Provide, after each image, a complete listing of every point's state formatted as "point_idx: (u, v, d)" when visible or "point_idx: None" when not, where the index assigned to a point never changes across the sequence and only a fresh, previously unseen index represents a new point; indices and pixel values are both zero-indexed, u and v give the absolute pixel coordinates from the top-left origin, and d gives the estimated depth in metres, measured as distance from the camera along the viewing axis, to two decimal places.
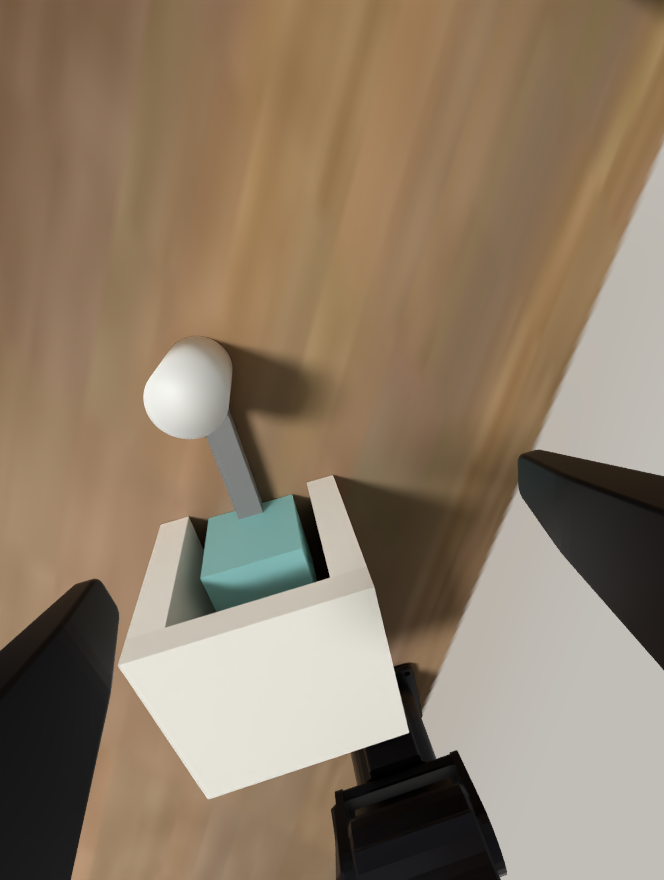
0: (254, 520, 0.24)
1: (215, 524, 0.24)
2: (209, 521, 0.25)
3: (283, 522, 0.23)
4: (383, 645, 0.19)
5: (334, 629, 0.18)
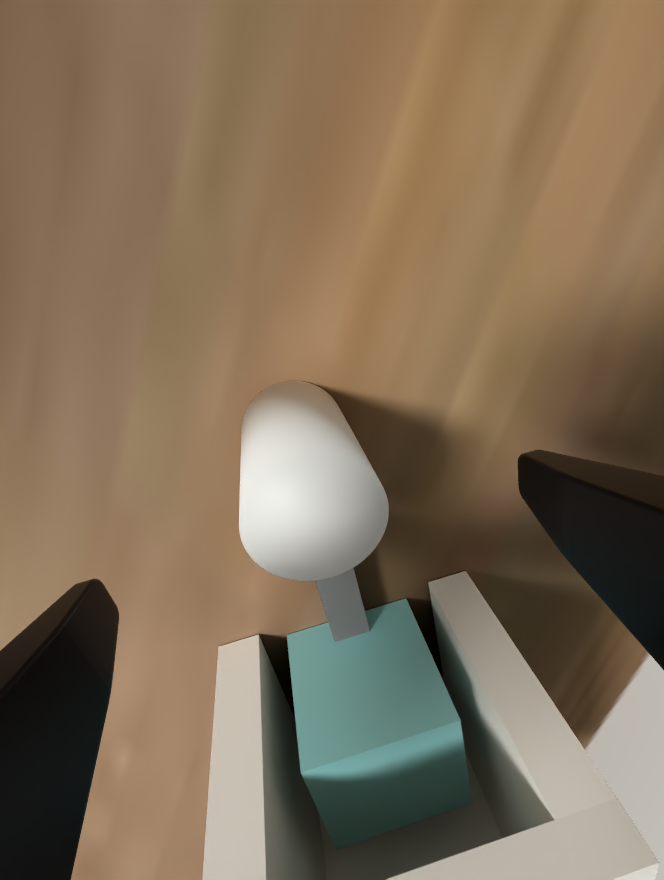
0: (360, 646, 0.16)
1: (300, 649, 0.17)
2: (289, 641, 0.17)
3: (410, 657, 0.15)
4: None
5: None
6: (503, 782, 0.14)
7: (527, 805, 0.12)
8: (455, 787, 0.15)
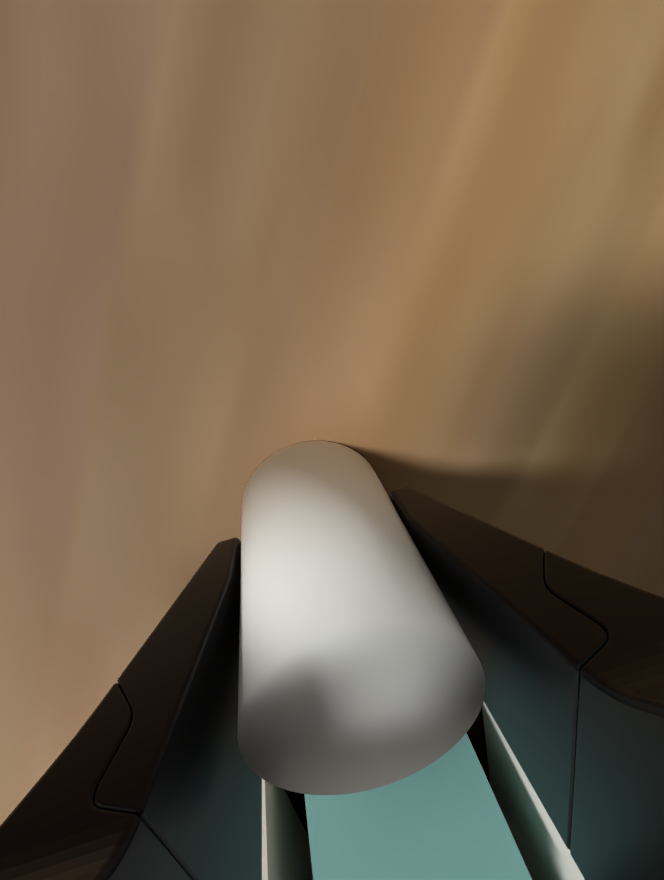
0: None
1: None
2: None
3: (465, 795, 0.12)
4: None
5: None
6: None
7: None
8: None
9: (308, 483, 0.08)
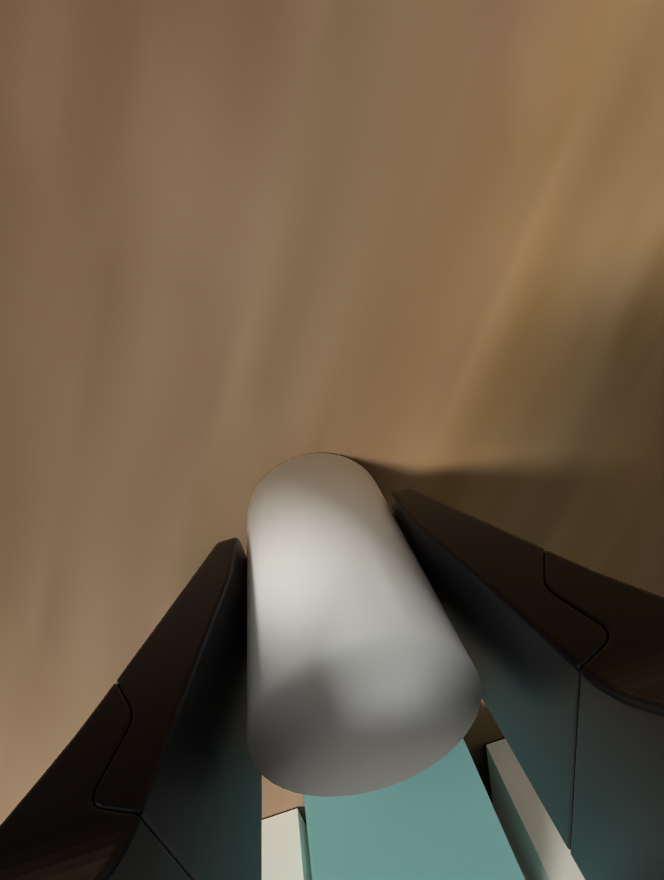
0: None
1: None
2: None
3: (461, 798, 0.12)
4: None
5: None
6: None
7: None
8: None
9: (313, 496, 0.08)
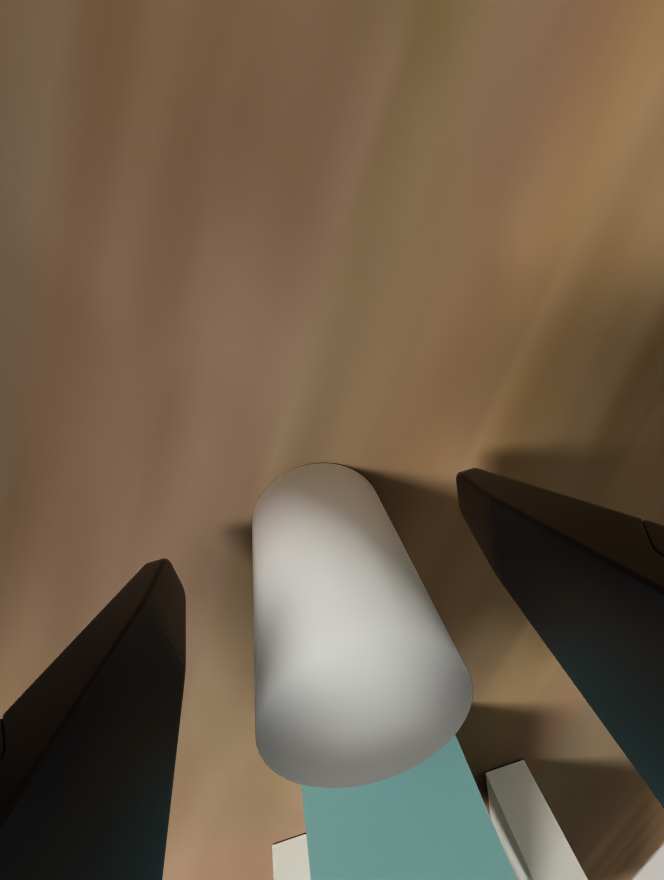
0: None
1: None
2: None
3: (453, 794, 0.12)
4: None
5: None
6: None
7: None
8: None
9: (316, 505, 0.09)
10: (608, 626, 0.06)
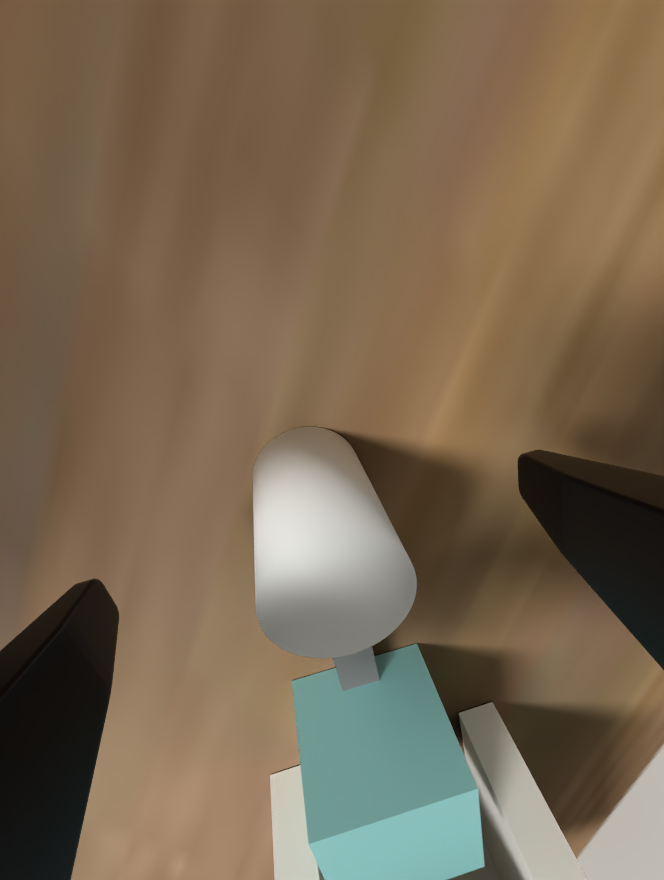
0: (369, 698, 0.15)
1: (306, 697, 0.16)
2: (294, 688, 0.16)
3: (423, 712, 0.15)
4: None
5: None
6: None
7: None
8: (468, 852, 0.14)
9: (303, 454, 0.11)
10: None
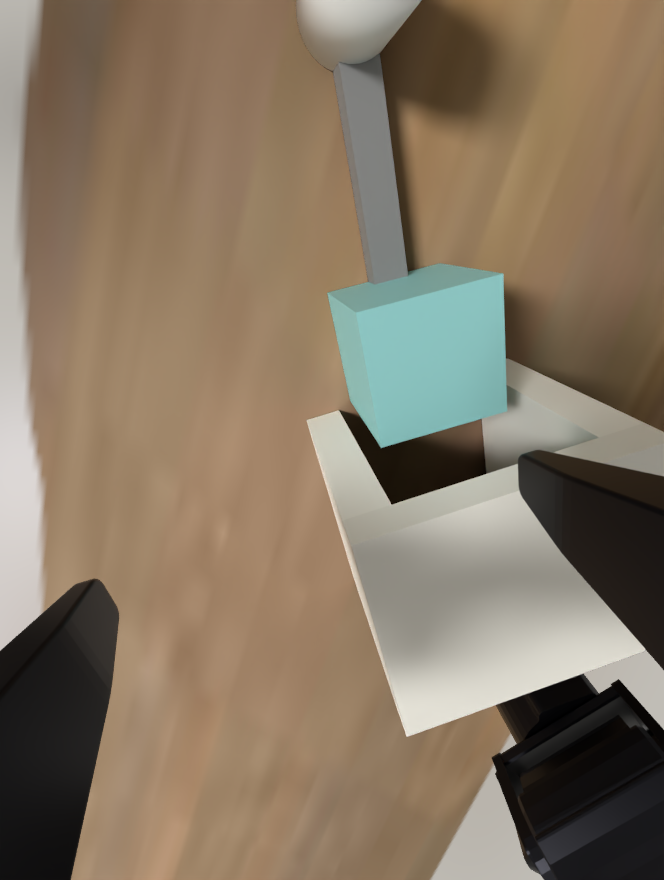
0: (400, 280, 0.17)
1: (341, 292, 0.17)
2: (330, 293, 0.18)
3: (449, 272, 0.16)
4: None
5: None
6: None
7: None
8: (493, 381, 0.16)
9: None
10: None
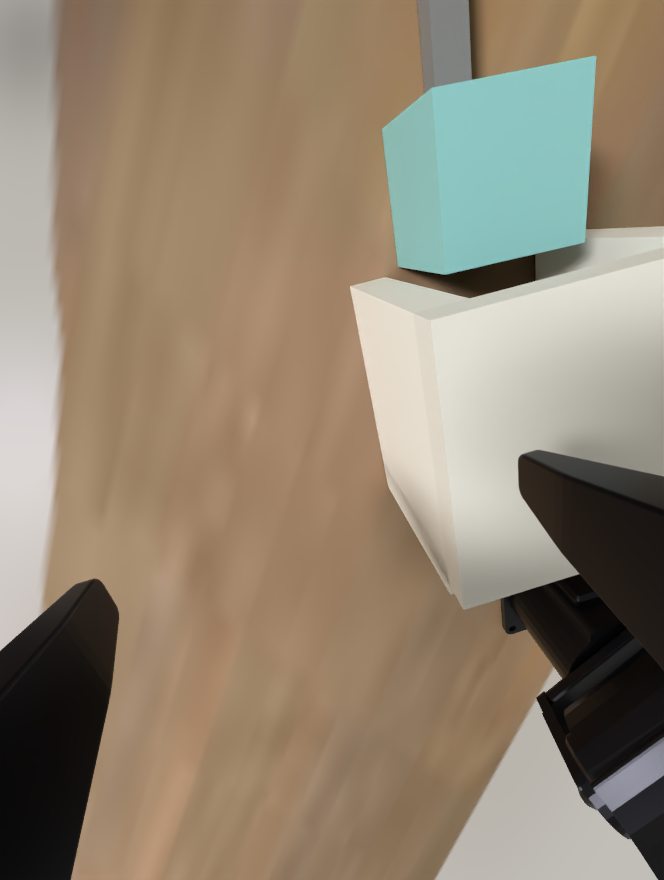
0: None
1: None
2: None
3: None
4: None
5: None
6: None
7: None
8: (573, 200, 0.14)
9: None
10: None
